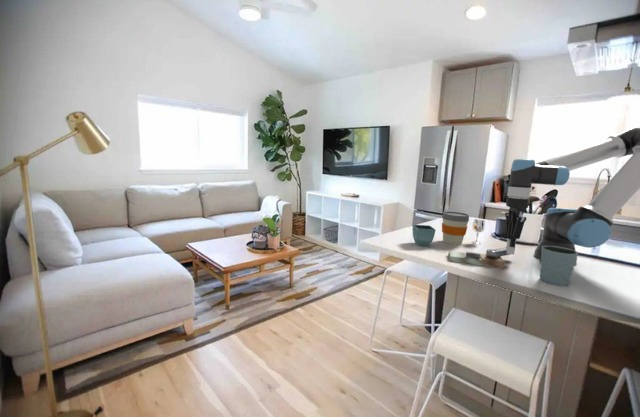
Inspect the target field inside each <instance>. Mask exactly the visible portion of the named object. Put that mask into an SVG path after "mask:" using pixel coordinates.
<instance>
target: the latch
mask: <svg viewBox="0 0 640 417" xmlns="http://www.w3.org/2000/svg"><path fill="white" fill-rule="evenodd" d="M515 250H516V249H515ZM515 250H514V253H515ZM485 252H486V253H485V254H486V256H487V257H489V258H498V257H501V258H502V257H505V256H509V255H512V254H506V246H505V247H501V248H496V249H493V248H492V249H486V251H485Z"/></svg>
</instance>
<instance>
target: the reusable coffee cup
mask: <svg viewBox="0 0 640 417" xmlns="http://www.w3.org/2000/svg"><path fill="white" fill-rule="evenodd" d="M441 219H442V222H441V232H442V242H443V243H445V244H447V245H453V246H460V245H462V244H463V241H464V238H465V236H466V233H467V229H468V223H469V221H470V215H469V214H468V213H463V212H459V211H443V213H442V217H441Z"/></svg>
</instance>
